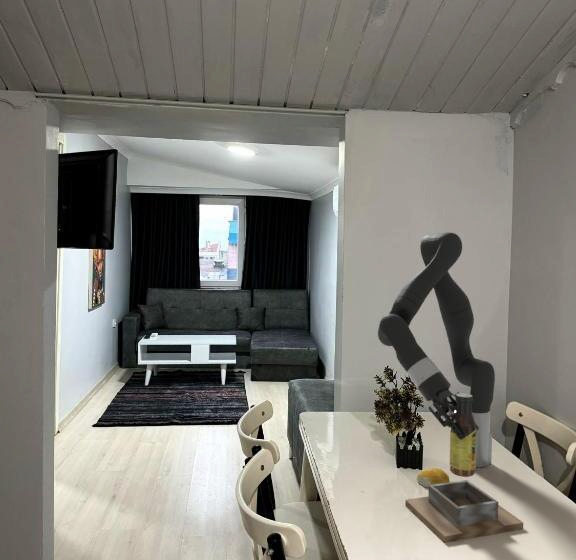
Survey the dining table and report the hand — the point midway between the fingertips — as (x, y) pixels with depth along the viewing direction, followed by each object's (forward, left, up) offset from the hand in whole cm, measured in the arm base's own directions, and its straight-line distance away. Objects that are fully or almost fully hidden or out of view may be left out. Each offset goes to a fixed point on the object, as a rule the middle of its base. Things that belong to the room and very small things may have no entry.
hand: (470, 434), depth 128 cm
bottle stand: (+1, -1, -22) cm, 22 cm away
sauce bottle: (+1, -1, -11) cm, 11 cm away
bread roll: (-3, -20, -22) cm, 30 cm away
